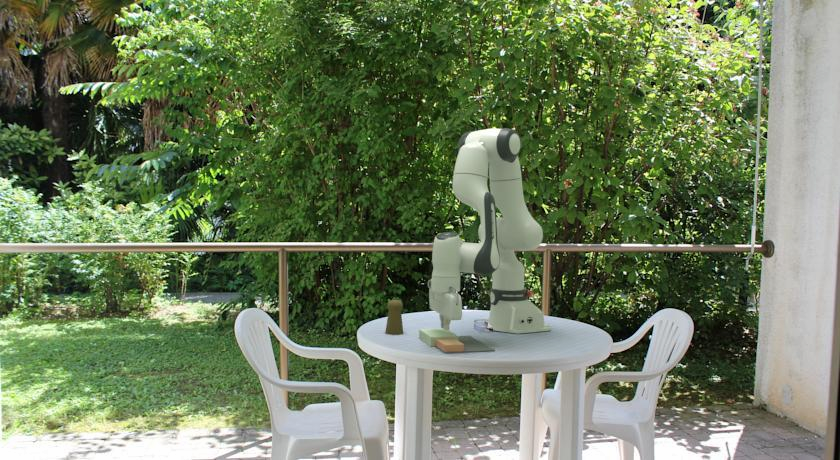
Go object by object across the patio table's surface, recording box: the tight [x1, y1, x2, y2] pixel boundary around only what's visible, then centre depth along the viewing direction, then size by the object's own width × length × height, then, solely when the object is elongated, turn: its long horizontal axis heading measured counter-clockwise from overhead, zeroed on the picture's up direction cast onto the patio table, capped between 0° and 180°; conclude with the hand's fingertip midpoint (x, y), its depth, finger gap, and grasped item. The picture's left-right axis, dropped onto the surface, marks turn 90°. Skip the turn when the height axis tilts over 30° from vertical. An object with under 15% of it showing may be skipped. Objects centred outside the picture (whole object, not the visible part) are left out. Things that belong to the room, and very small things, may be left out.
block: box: [435, 338, 464, 353], centre depth 218 cm, size 6×9×2 cm, turn 18°
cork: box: [385, 299, 404, 336], centre depth 240 cm, size 6×6×11 cm
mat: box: [435, 335, 496, 355], centre depth 225 cm, size 16×21×1 cm
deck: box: [418, 327, 459, 348], centre depth 228 cm, size 9×12×3 cm
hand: (445, 329), depth 223 cm, fingers closed
